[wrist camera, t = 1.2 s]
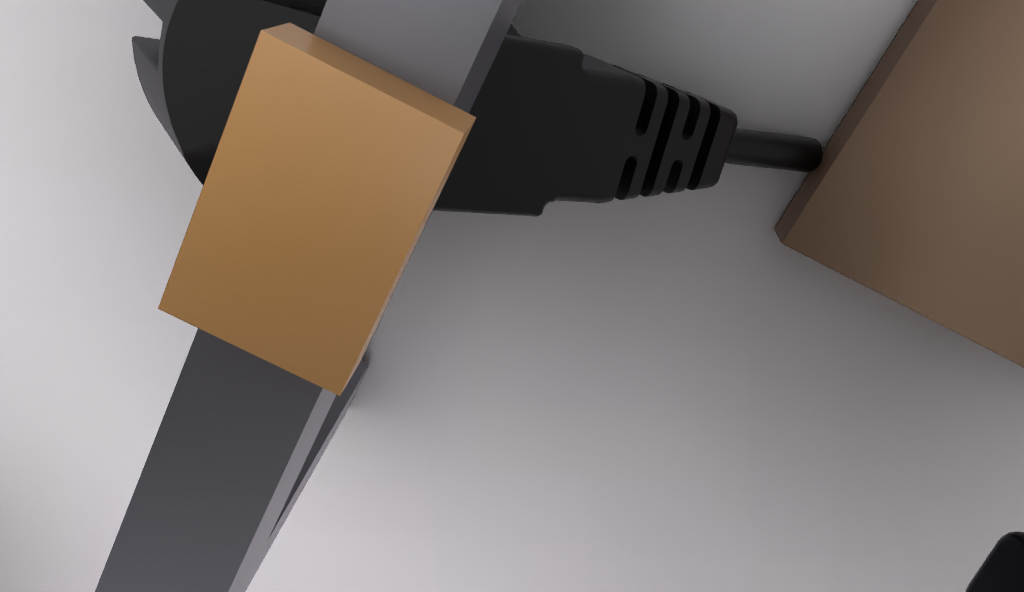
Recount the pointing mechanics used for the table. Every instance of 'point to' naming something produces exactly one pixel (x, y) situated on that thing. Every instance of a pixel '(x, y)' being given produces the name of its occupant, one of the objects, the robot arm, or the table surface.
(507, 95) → the power plug
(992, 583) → the robot arm
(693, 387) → the table surface
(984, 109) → the walnut pad
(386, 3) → the grey arch frame
